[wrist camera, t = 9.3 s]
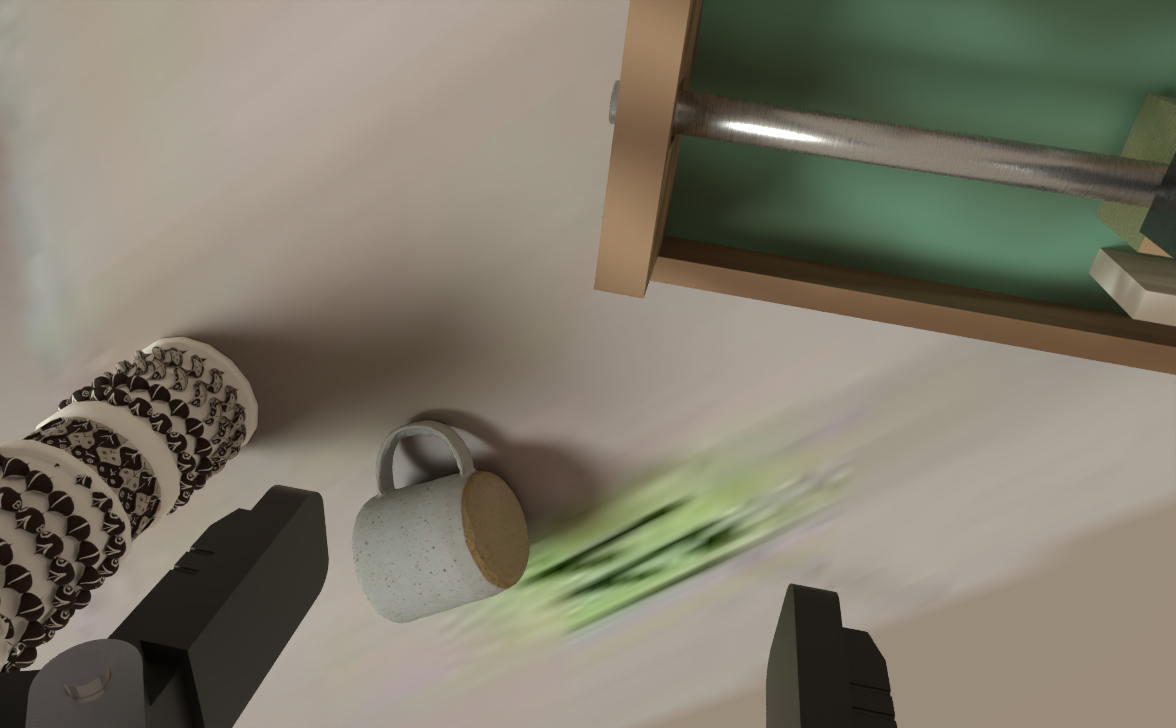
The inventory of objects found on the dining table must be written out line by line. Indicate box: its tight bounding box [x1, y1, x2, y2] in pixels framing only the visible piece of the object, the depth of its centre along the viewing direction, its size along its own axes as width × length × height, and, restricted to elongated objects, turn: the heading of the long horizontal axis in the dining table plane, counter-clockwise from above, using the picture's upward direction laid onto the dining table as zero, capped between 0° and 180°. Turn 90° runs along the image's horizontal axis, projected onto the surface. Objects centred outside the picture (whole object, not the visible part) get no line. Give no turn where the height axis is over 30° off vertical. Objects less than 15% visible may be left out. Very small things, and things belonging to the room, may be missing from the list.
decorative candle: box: [0, 337, 258, 673], centre depth 40 cm, size 9×9×25 cm
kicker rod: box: [609, 80, 1176, 260], centre depth 29 cm, size 5×22×12 cm, turn 83°
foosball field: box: [594, 0, 1176, 375], centre depth 32 cm, size 16×28×9 cm, turn 83°
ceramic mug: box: [352, 420, 529, 623], centre depth 47 cm, size 11×8×8 cm
